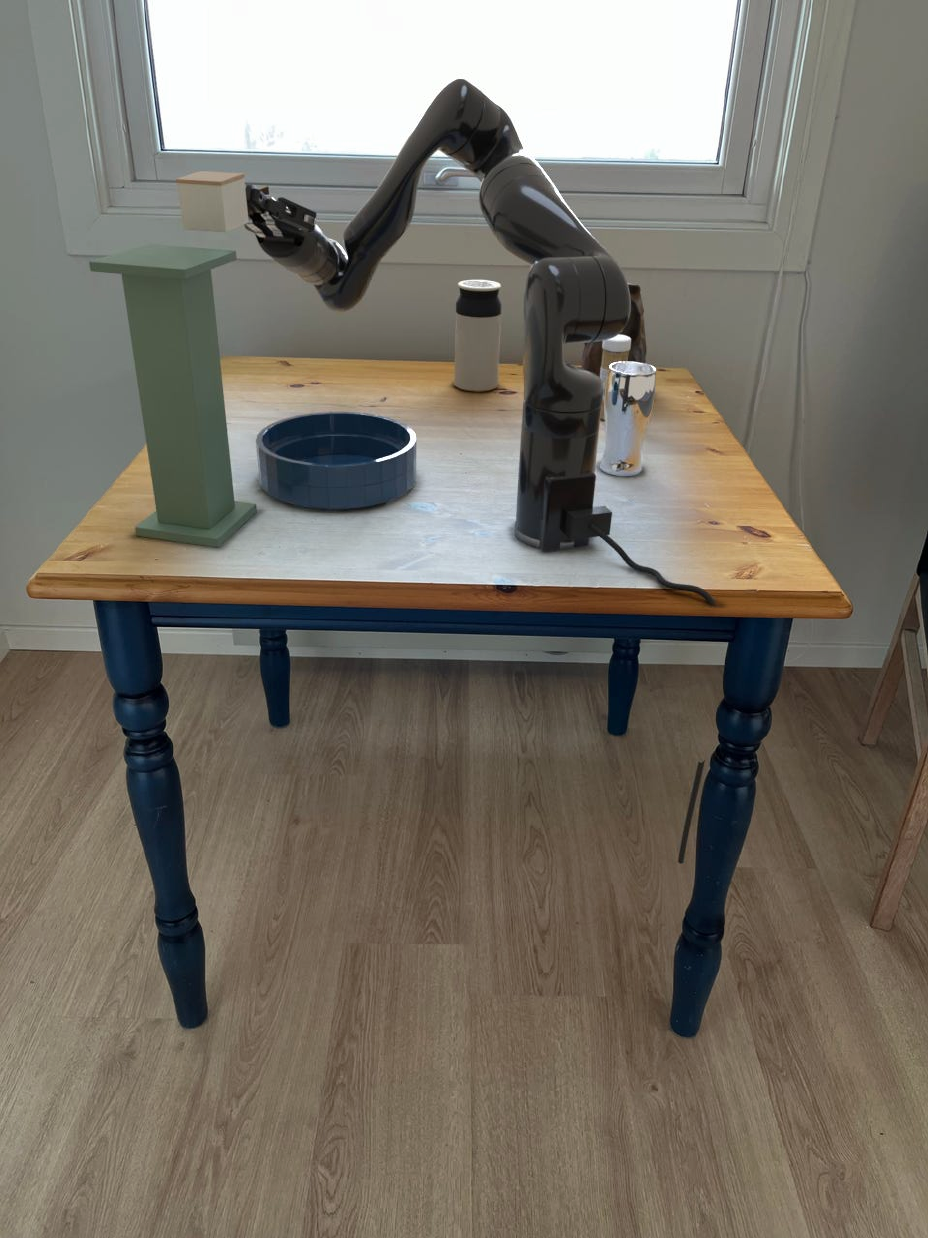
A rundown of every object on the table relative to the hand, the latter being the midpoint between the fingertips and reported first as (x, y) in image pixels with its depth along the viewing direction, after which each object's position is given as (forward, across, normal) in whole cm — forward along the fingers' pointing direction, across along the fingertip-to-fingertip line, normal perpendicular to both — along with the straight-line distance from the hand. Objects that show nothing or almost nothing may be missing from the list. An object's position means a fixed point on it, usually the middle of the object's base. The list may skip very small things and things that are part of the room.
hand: (239, 191), depth 116 cm
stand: (0, -1, +41) cm, 41 cm away
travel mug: (-62, +18, +10) cm, 65 cm away
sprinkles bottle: (-54, +44, +14) cm, 71 cm away
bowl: (-17, +11, +32) cm, 38 cm away
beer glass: (-33, +49, +25) cm, 64 cm away
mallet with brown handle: (0, 0, +3) cm, 3 cm away
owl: (-67, +44, +8) cm, 80 cm away
